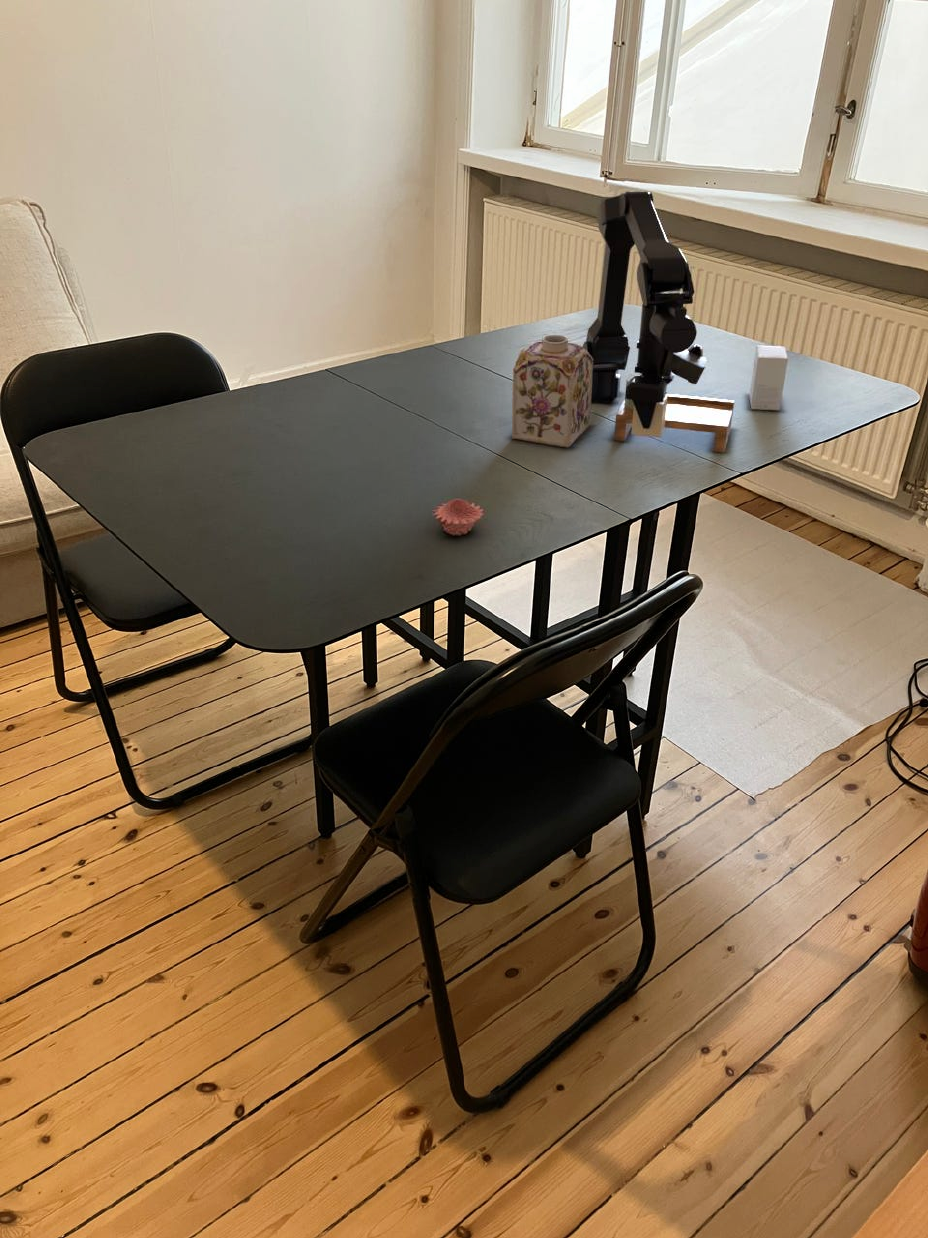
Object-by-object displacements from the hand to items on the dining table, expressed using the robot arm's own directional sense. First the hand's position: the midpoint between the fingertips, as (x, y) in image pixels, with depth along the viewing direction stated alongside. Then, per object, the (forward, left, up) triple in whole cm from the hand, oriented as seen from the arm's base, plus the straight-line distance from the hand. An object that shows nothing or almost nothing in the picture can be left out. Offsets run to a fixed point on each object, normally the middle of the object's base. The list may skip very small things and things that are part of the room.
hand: (648, 422), depth 174 cm
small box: (+18, +34, -7) cm, 39 cm away
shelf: (+3, +12, -7) cm, 15 cm away
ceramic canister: (-4, +12, -2) cm, 13 cm away
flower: (-23, -36, -7) cm, 43 cm away
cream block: (0, 0, -2) cm, 2 cm away
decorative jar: (-19, +7, -7) cm, 21 cm away
